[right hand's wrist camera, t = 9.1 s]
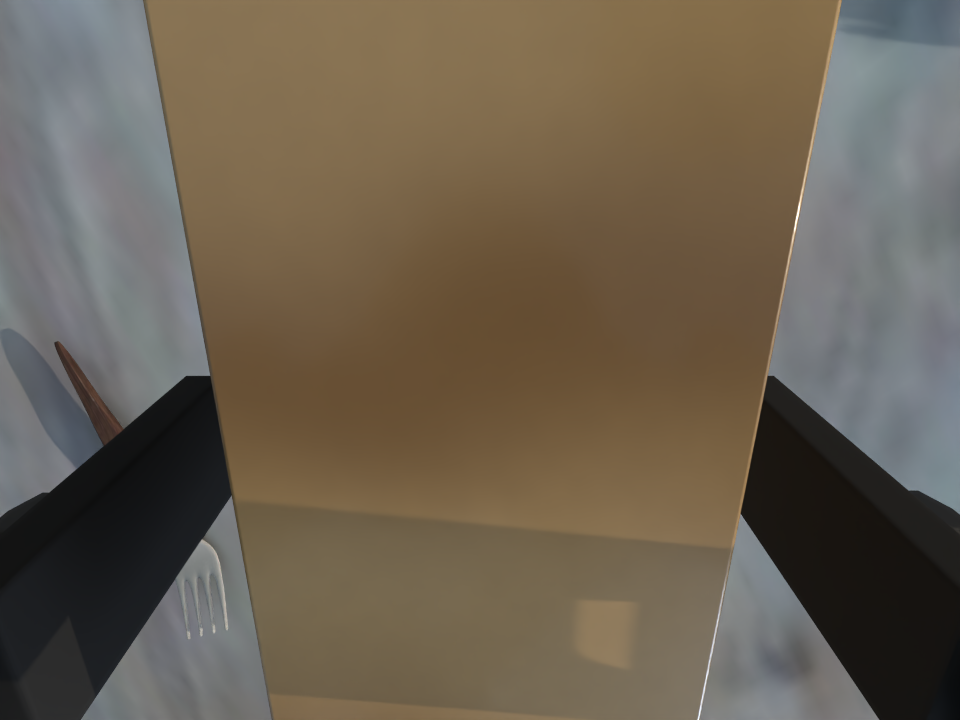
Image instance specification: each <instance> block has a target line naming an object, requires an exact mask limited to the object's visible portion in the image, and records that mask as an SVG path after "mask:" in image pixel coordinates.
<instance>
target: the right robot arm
mask: <svg viewBox="0 0 960 720" xmlns="http://www.w3.org/2000/svg"><path fill="white" fill-rule="evenodd" d="M231 495H232V494H231V488H230V482H229V477H228V471H227V466H226V460H225V455H224V449H223V443H222V438H221V432H220V427H219V421H218V415H217V410H216V404H215V399H214V393H213V387H212V382H211V376H186V377H185V378H183V379H182V380H181V381H180V382H179V383H178V384H176V385H175V386H174V387H173V388H172V389H170V390H169V391H168V392H167V393H166V394H165V395H163V396H162V397H161V398H160V399H159V400H158V401H156V402H155V403H154V404H153V405H152V406H151V407H149V408H148V409H147V410H146V411H145V412H143V413H142V414H141V415H140V416H139V417H138V418H136V419H135V420H134V421H133V422H132V423H131V424H129V425H128V426H127V427H126V428H125V429H124V430H122V431H121V432H120V433H119V434H118V435H116V436H115V437H114V438H113V439H112V440H111V441H109V442H108V443H107V444H106V445H105V446H104V447H102V448H101V449H100V450H99V451H98V452H96V453H95V454H94V455H93V456H92V457H91V458H89V459H88V460H87V461H86V462H85V463H84V464H82V465H81V466H80V467H79V468H78V469H77V470H75V471H74V472H73V473H72V474H71V475H69V476H68V477H67V478H66V479H65V480H64V481H62V482H61V483H60V484H59V485H58V486H57V487H55V488H54V489H53V490H52V491H51V492H50V493H41V494H39V495H37V496H36V497H34V498H32V499H30V500H28V501H26V502H24V503H22V504H20V505H19V506H17V507H15V508H13V509H11V510H9V511H8V512H6V513H5V514H4V515H3V516H1V517H0V720H81V718H82V717H83V715H84V714H85V712H86V711H87V709H88V708H89V706H90V705H91V704H92V702H93V701H94V699H95V698H96V696H97V695H98V693H99V692H100V690H101V689H102V687H103V686H104V684H105V683H106V681H107V680H108V678H109V677H110V675H111V674H112V672H113V671H114V669H115V668H116V666H117V665H118V663H119V662H120V660H121V659H122V657H123V656H124V654H125V653H126V651H127V650H128V649H129V647H130V646H131V644H132V643H133V641H134V640H135V638H136V637H137V635H138V634H139V632H140V631H141V629H142V628H143V626H144V625H145V623H146V622H147V620H148V619H149V617H150V616H151V614H152V613H153V611H154V610H155V608H156V607H157V605H158V604H159V602H160V601H161V599H162V598H163V596H164V595H165V593H166V592H167V591H168V589H169V588H170V586H171V585H172V583H173V582H174V580H175V579H176V577H177V576H178V574H179V573H180V571H181V570H182V568H183V567H184V565H185V564H186V562H187V561H188V559H189V558H190V556H191V555H192V553H193V552H194V550H195V549H196V547H197V546H198V544H199V543H200V541H201V540H202V538H203V537H204V536H205V534H206V533H207V531H208V530H209V528H210V527H211V525H212V524H213V522H214V521H215V519H216V518H217V516H218V515H219V513H220V512H221V510H222V509H223V507H224V506H225V504H226V503H227V501H228V500H229V498H230V497H231ZM741 515H742V516H743V518H744V519H745V521H746V522H747V524H748V525H749V527H750V528H751V530H752V531H753V533H754V534H755V535H756V537H757V538H758V540H759V541H760V543H761V544H762V546H763V547H764V549H765V550H766V552H767V553H768V555H769V556H770V558H771V559H772V561H773V562H774V564H775V565H776V567H777V568H778V570H779V571H780V573H781V574H782V576H783V577H784V579H785V580H786V582H787V583H788V585H789V586H790V588H791V589H792V591H793V592H794V593H795V595H796V596H797V598H798V599H799V601H800V602H801V604H802V605H803V607H804V608H805V610H806V611H807V613H808V614H809V616H810V617H811V619H812V620H813V622H814V623H815V625H816V626H817V628H818V629H819V631H820V632H821V634H822V635H823V637H824V638H825V640H826V641H827V643H828V644H829V646H830V647H831V648H832V650H833V651H834V653H835V654H836V656H837V657H838V659H839V660H840V662H841V663H842V665H843V666H844V668H845V669H846V671H847V672H848V674H849V675H850V677H851V678H852V680H853V681H854V683H855V684H856V686H857V687H858V689H859V690H860V692H861V693H862V695H863V696H864V698H865V699H866V701H867V702H868V704H869V705H870V706H871V708H872V709H873V711H874V712H875V714H876V715H877V717H878V718H879V720H960V515H959V514H958V513H957V512H956V511H955V510H953V509H952V508H950V507H948V506H946V505H944V504H942V503H940V502H939V501H937V500H935V499H933V498H931V497H929V496H927V495H925V494H923V493H921V492H920V491H908V490H907V489H906V488H905V487H903V486H902V485H901V484H900V483H899V482H898V481H896V480H895V479H894V478H893V477H892V476H891V475H889V474H888V473H887V472H886V471H885V470H883V469H882V468H881V467H880V466H879V465H878V464H876V463H875V462H874V461H873V460H872V459H871V458H869V457H868V456H867V455H866V454H865V453H864V452H862V451H861V450H860V449H859V448H858V447H856V446H855V445H854V444H853V443H852V442H851V441H849V440H848V439H847V438H846V437H845V436H844V435H842V434H841V433H840V432H839V431H838V430H837V429H835V428H834V427H833V426H832V425H831V424H829V423H828V422H827V421H826V420H825V419H824V418H822V417H821V416H820V415H819V414H818V413H817V412H815V411H814V410H813V409H812V408H811V407H810V406H808V405H807V404H806V403H805V402H804V401H802V400H801V399H800V398H799V397H798V396H797V395H795V394H794V393H793V392H792V391H791V390H790V389H788V388H787V387H786V386H785V385H784V384H782V383H781V382H780V381H779V380H778V379H777V378H775V377H774V376H767V381H766V387H765V392H764V397H763V402H762V407H761V412H760V417H759V422H758V427H757V432H756V437H755V442H754V447H753V452H752V457H751V462H750V467H749V473H748V478H747V483H746V488H745V493H744V498H743V503H742V508H741Z"/></svg>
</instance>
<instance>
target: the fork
mask: <svg viewBox="0 0 960 720" xmlns="http://www.w3.org/2000/svg"><path fill="white" fill-rule="evenodd" d="M55 347H56V350H57V352H58V355H59V357H60V359H61V361H62V363H63V366H64V368H65V370H66V372H67V374H68V376H69V378H70V380H71V382H72V384H73V386H74V387H75V389H76V391H77V393H78V395H79V397H80V399H81V401H82V403H83V405H84V407H85V409H86V411H87V413H88V415H89V417H90V419H91V421H92V423H93V425H94V427H95V429H96V431H97V434H98V436H99V437H100V439H101V441H102V443H103V445H104V446H105V445H106V444H107V443H108V442H109V441H111V440H112V439H113V438H114V437H115V436H116V435H118V434H119V433H120V432H121V431H122V430H124V429H123V428H122V426H121V425H120V424H119V422H118V421H117V420H116V418H115V417H114V416H113V414H112V413H111V412H110V410H109V409H108V408H107V406H106V405H105V404H104V402H103V401H102V399H101V398H100V397H99V395H98V394H97V392H96V391H95V389H94V388H93V386H92V385H91V383H90V382H89V381H88V379H87V378H86V376H85V375H84V373H83V372H82V370H81V369H80V368H79V366H78V365H77V363H76V362H75V361H74V359H73V358H72V357H71V355H70V354H69V353H68V351H67V350H66V349H65V348H64V346H63V345H62V344H61V343H60V342H59V341H57V342H55ZM211 575H213V576H214V578H215V580H216V584H217V588H218V593H219V598H220V602H221V607H222V612H223V618H224V624H225V630H228V622H227V611H226V602H225V593H224V586H223V579H222V573H221V567H220V562H219V558H218V555H217V553H216V552H215V550H214V549H213V547H212V546H211V545H209V544H208V543H207V542H206V541H204V540H201V541H200V543H199V544H198V546H197V547H196V549H195V550H194V552H193V553H192V555H191V556H190V558H189V559H188V561H187V562H186V564H185V565H184V567H183V568H182V570H181V571H180V573H179V574H178V576H177V577H176V579H175V580H176V583H177V587H178V591H179V595H180V599H181V604H182V610H183V615H184V620H185V626H186V632H187V639H190V628H189V617H188V606H187V598H186V590H185V582H186V581H188V582H189V584H190V587H191V590H192V595H193V599H194V604H195V609H196V614H197V620H198V626H199V632H200V636H202V635H203V632H202V619H201V609H200V599H199V592H198V578H201V580H202V582H203V585H204V589H205V594H206V599H207V604H208V609H209V614H210V619H211V625H212V632H213V633H215V621H214V610H213V601H212V593H211V585H210V576H211Z"/></svg>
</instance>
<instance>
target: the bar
mask: <svg viewBox="0 0 960 720" xmlns="http://www.w3.org/2000/svg"><path fill="white" fill-rule="evenodd" d="M143 2H144V7H145V13H146V19H147V24H148V30H149V35H150V41H151V47H152V52H153V58H154V63H155V69H156V75H157V80H158V86H159V91H160V97H161V102H162V108H163V114H164V119H165V125H166V130H167V136H168V142H169V147H170V153H171V158H172V164H173V170H174V175H175V181H176V186H177V192H178V197H179V203H180V209H181V214H182V220H183V225H184V231H185V237H186V242H187V248H188V253H189V259H190V265H191V270H192V276H193V281H194V287H195V292H196V298H197V304H198V309H199V315H200V320H201V326H202V332H203V337H204V343H205V348H206V354H207V360H208V365H209V371H210V376H211V382H212V387H213V393H214V399H215V404H216V410H217V415H218V421H219V427H220V432H221V438H222V443H223V449H224V455H225V460H226V466H227V471H228V477H229V482H230V488H231V494H232V499H233V505H234V510H235V516H236V522H237V527H238V533H239V538H240V544H241V550H242V555H243V561H244V566H245V572H246V577H247V583H248V589H249V594H250V600H251V605H252V611H253V617H254V622H255V628H256V633H257V639H258V645H259V650H260V656H261V661H262V667H263V672H264V678H265V684H266V689H267V695H268V700H269V706H270V712H271V717H272V720H700V715H701V710H702V705H703V700H704V695H705V690H706V685H707V680H708V675H709V670H710V665H711V660H712V655H713V650H714V645H715V640H716V634H717V629H718V624H719V619H720V614H721V609H722V604H723V599H724V594H725V589H726V584H727V579H728V574H729V569H730V564H731V559H732V553H733V548H734V543H735V538H736V533H737V528H738V523H739V518H740V513H741V508H742V503H743V498H744V493H745V488H746V483H747V478H748V473H749V467H750V462H751V457H752V452H753V447H754V442H755V437H756V432H757V427H758V422H759V417H760V412H761V407H762V402H763V397H764V392H765V387H766V381H767V376H768V371H769V366H770V361H771V356H772V351H773V346H774V341H775V336H776V331H777V326H778V321H779V316H780V311H781V306H782V301H783V295H784V290H785V285H786V280H787V275H788V270H789V265H790V260H791V255H792V250H793V245H794V240H795V235H796V230H797V225H798V220H799V215H800V209H801V204H802V199H803V194H804V189H805V184H806V179H807V174H808V169H809V164H810V159H811V154H812V149H813V144H814V139H815V134H816V129H817V123H818V118H819V113H820V108H821V103H822V98H823V93H824V88H825V83H826V78H827V73H828V68H829V63H830V58H831V53H832V48H833V42H834V37H835V32H836V27H837V22H838V17H839V12H840V7H841V2H842V0H143Z"/></svg>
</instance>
